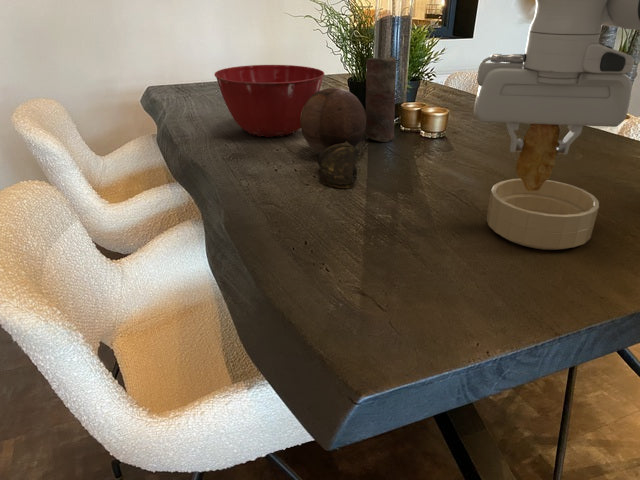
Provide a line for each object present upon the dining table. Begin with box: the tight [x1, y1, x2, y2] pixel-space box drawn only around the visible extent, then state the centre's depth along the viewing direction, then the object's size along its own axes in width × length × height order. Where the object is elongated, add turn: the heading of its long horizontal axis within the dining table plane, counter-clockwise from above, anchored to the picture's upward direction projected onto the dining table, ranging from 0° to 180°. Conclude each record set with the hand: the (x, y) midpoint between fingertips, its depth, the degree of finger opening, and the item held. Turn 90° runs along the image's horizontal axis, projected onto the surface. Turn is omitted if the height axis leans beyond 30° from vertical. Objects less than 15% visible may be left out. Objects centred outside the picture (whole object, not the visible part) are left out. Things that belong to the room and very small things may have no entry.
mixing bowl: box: [214, 64, 326, 138], centre depth 130 cm, size 28×28×15 cm
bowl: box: [486, 178, 600, 251], centre depth 77 cm, size 15×15×6 cm
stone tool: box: [515, 124, 561, 191], centre depth 73 cm, size 5×2×15 cm, turn 80°
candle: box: [364, 56, 397, 143], centre depth 121 cm, size 8×7×20 cm
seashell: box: [317, 141, 360, 189], centre depth 101 cm, size 16×9×7 cm, turn 179°
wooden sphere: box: [300, 87, 366, 154], centre depth 111 cm, size 15×15×15 cm
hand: (538, 152), depth 73 cm, fingers closed on stone tool, 5 cm apart
